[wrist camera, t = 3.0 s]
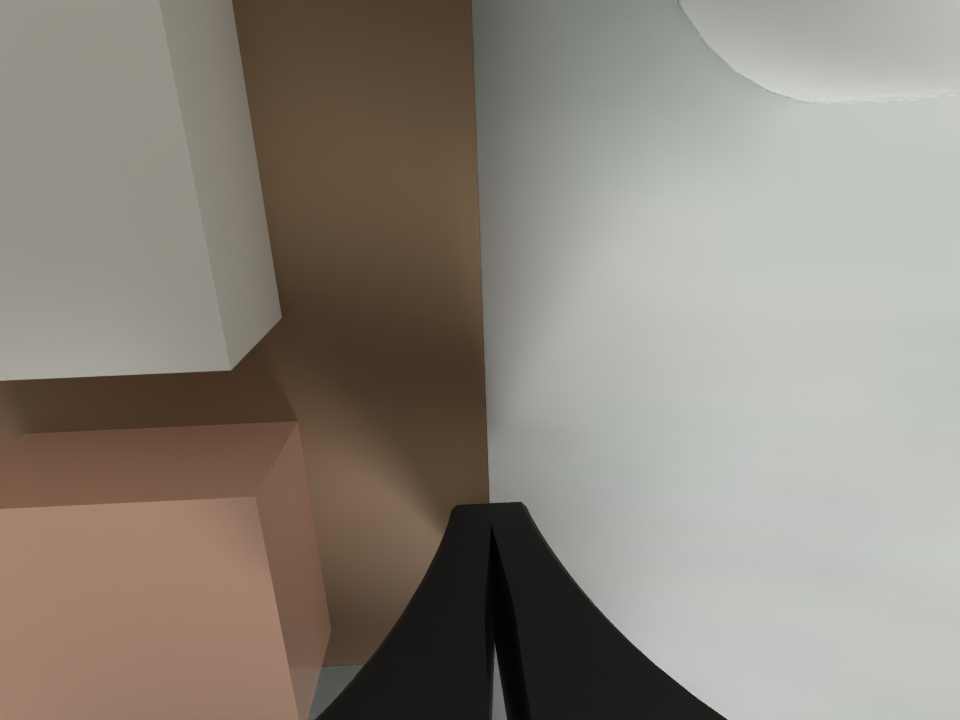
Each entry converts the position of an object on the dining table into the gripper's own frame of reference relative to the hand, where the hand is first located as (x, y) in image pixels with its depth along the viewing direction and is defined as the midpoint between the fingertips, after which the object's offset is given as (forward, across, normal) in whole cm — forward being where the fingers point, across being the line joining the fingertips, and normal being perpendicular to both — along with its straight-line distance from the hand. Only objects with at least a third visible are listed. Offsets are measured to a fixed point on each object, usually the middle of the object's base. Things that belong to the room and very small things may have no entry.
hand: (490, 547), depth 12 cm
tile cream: (+1, +6, -7) cm, 9 cm away
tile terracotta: (+1, +6, 0) cm, 6 cm away
